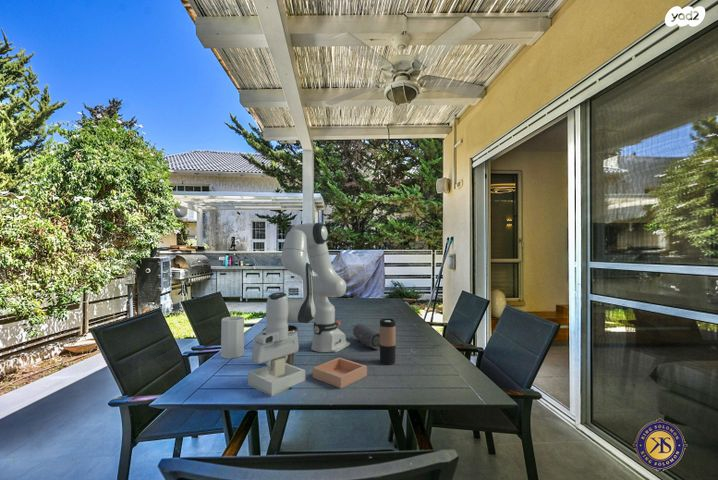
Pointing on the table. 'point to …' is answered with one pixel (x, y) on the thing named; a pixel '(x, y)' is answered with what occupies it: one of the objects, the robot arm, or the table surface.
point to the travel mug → (387, 341)
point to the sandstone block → (277, 366)
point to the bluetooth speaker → (367, 336)
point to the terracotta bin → (339, 372)
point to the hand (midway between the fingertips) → (276, 368)
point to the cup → (232, 337)
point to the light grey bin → (275, 379)
